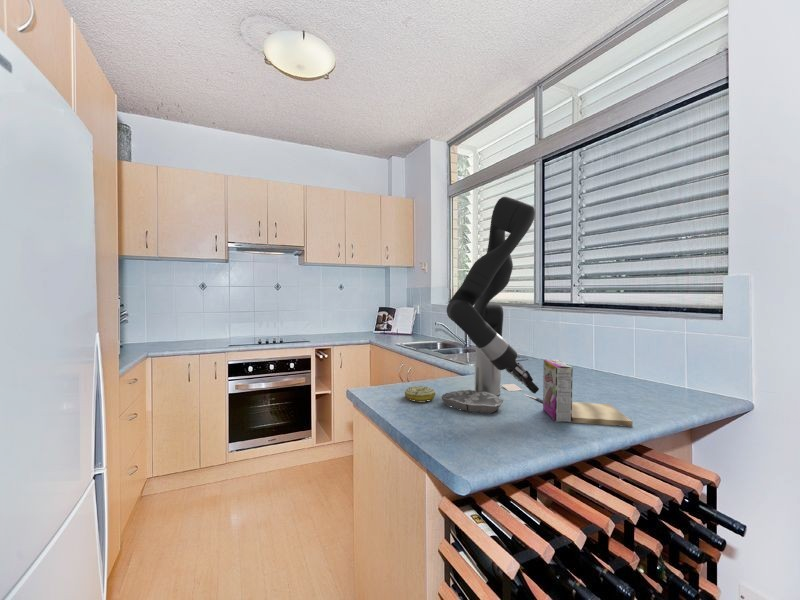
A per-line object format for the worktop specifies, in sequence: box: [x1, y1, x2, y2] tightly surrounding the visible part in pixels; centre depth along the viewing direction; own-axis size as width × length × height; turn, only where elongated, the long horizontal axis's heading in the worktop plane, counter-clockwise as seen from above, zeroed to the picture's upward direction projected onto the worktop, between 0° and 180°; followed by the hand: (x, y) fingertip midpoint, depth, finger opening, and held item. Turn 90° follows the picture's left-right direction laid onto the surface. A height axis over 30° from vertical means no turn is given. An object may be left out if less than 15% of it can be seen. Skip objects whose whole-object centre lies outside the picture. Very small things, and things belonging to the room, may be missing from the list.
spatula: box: [501, 383, 543, 404], centre depth 133 cm, size 6×29×2 cm, turn 17°
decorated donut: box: [404, 385, 436, 401], centre depth 129 cm, size 10×11×4 cm
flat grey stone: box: [441, 389, 504, 414], centre depth 122 cm, size 20×17×3 cm
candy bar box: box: [542, 359, 574, 423], centre depth 112 cm, size 11×5×16 cm, turn 178°
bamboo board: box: [571, 401, 634, 427], centre depth 114 cm, size 16×16×2 cm
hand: (535, 390), depth 112 cm, fingers closed
